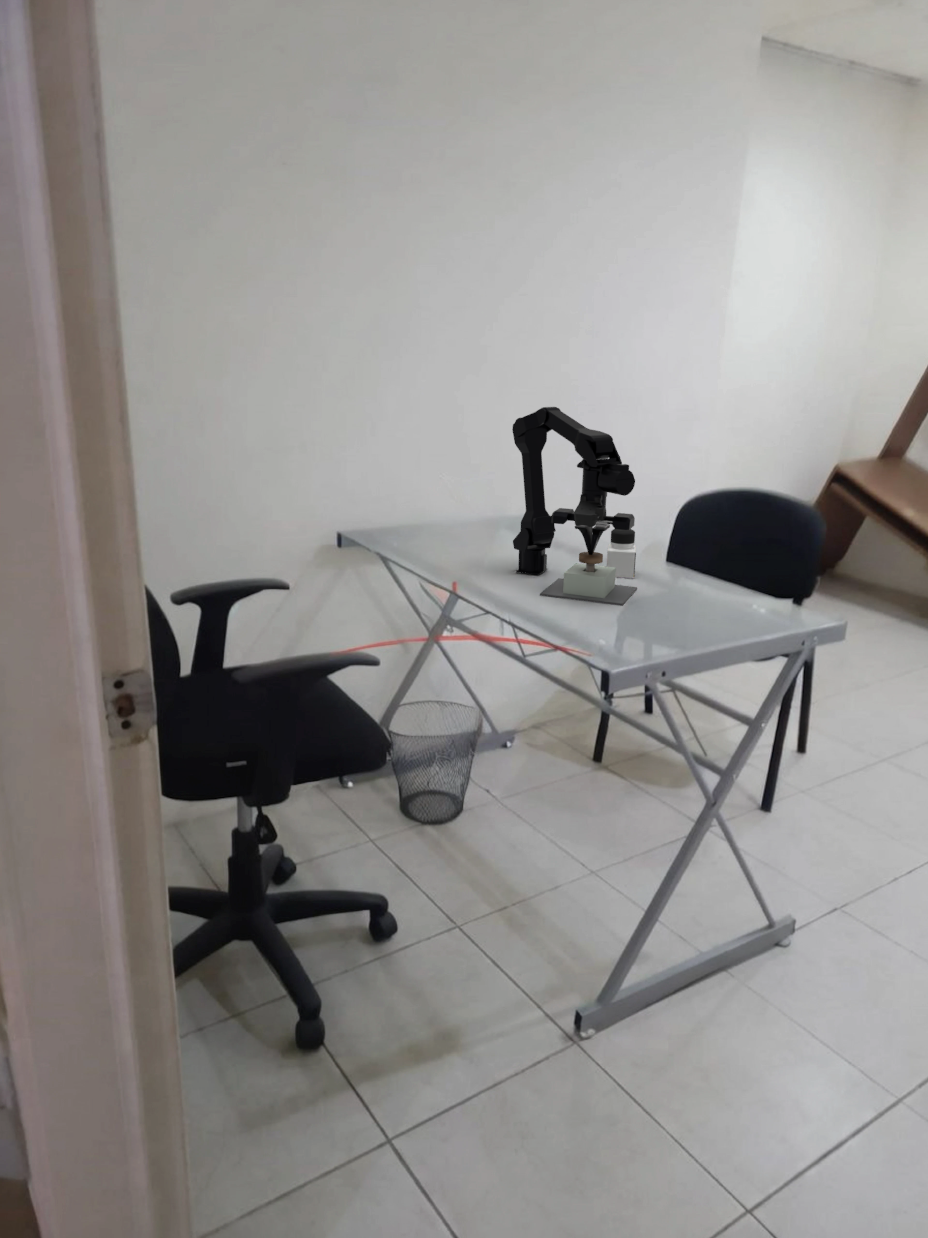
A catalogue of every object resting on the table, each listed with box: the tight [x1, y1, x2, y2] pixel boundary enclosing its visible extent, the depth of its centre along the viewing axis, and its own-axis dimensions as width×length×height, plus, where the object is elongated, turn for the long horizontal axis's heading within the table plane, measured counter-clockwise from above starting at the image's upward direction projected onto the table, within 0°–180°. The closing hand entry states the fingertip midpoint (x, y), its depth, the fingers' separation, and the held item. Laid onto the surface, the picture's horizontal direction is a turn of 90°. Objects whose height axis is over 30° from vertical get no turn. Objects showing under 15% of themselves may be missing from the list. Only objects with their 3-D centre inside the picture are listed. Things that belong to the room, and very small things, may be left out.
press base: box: [539, 563, 638, 606], centre depth 207 cm, size 20×15×6 cm
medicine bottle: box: [606, 528, 637, 579], centre depth 222 cm, size 7×7×12 cm
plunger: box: [578, 551, 604, 572], centre depth 206 cm, size 6×6×6 cm
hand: (590, 554), depth 205 cm, fingers closed, pressing on plunger
